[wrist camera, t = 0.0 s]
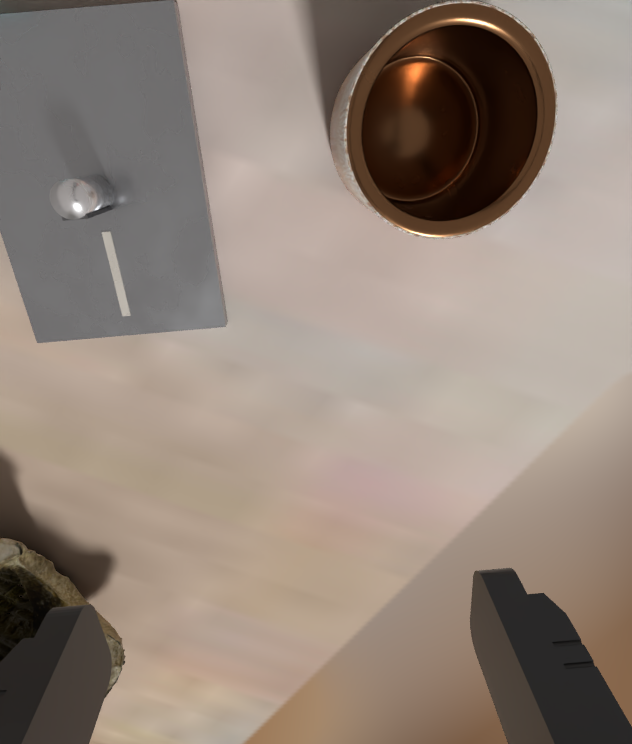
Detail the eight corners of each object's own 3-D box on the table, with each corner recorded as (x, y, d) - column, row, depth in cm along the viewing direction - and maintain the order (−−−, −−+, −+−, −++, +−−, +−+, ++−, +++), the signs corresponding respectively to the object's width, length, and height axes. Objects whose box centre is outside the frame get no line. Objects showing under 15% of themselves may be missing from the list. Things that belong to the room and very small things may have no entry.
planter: (308, 69, 32) (314, 42, 23) (477, 10, 31) (549, -40, 22) (352, 236, 36) (371, 266, 28) (501, 190, 35) (569, 205, 27)
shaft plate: (-57, 24, 30) (-130, -1, 25) (177, 4, 30) (154, -24, 25) (44, 337, 38) (5, 367, 33) (227, 321, 39) (217, 349, 33)
